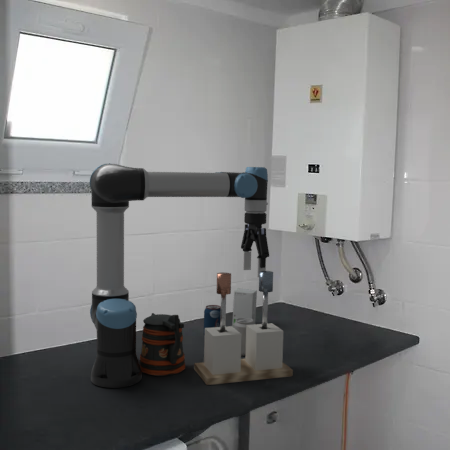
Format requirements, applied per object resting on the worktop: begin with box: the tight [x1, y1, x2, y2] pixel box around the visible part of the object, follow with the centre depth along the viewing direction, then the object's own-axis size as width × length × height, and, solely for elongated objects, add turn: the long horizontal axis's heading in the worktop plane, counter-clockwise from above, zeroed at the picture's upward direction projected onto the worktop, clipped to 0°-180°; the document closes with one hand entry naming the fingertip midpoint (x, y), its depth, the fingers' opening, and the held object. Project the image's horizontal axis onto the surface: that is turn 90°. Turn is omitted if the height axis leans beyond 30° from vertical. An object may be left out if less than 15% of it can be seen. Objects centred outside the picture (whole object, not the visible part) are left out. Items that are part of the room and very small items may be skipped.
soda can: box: [203, 304, 221, 337], centre depth 222 cm, size 7×7×12 cm
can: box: [234, 318, 256, 357], centre depth 205 cm, size 8×8×12 cm
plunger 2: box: [258, 270, 274, 329], centre depth 186 cm, size 4×4×19 cm
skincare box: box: [231, 287, 258, 328], centre depth 236 cm, size 8×7×16 cm
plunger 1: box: [216, 272, 232, 333], centre depth 182 cm, size 4×4×19 cm
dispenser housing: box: [203, 322, 284, 375], centre depth 186 cm, size 23×9×12 cm, turn 109°
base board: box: [193, 358, 294, 386], centre depth 186 cm, size 28×14×2 cm, turn 109°
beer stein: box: [139, 312, 186, 377], centre depth 186 cm, size 19×15×20 cm
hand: (253, 273), depth 204 cm, fingers open, 13 cm apart
